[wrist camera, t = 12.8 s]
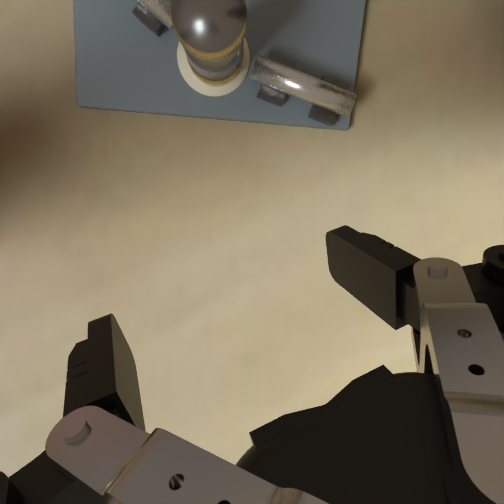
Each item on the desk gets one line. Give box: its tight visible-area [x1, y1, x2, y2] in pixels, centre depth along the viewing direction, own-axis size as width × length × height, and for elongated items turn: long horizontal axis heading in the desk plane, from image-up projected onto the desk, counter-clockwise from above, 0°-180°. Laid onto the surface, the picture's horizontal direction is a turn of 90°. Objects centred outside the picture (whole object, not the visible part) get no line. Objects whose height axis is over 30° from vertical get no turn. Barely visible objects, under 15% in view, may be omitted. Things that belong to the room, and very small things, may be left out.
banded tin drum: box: [170, 0, 247, 87], centre depth 27 cm, size 5×5×10 cm
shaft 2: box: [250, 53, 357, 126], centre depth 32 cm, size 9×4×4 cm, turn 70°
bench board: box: [73, 0, 366, 131], centre depth 32 cm, size 25×14×1 cm, turn 85°
